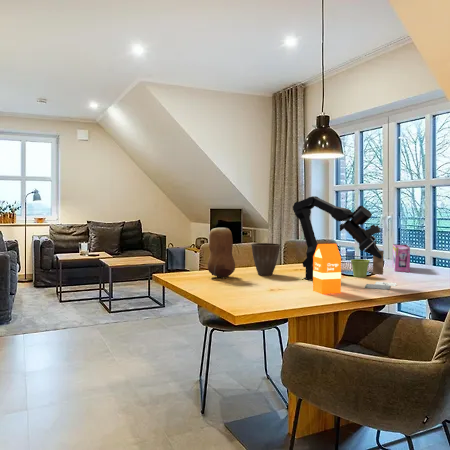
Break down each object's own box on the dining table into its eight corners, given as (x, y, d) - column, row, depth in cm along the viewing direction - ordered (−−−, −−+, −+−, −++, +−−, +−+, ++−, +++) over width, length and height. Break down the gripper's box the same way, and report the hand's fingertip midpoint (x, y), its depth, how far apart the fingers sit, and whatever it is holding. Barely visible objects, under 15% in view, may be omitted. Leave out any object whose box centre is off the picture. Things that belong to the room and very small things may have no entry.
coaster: (364, 288, 190) (364, 287, 190) (366, 285, 199) (366, 283, 199) (389, 290, 186) (389, 289, 186) (390, 286, 195) (390, 285, 195)
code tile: (374, 285, 198) (374, 284, 198) (376, 282, 207) (376, 281, 207) (395, 286, 195) (395, 286, 195) (396, 283, 203) (396, 283, 203)
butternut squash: (225, 274, 229) (225, 226, 228) (240, 278, 218) (240, 227, 217) (202, 276, 221) (202, 227, 221) (216, 280, 210) (216, 228, 209)
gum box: (410, 272, 240) (410, 247, 239) (394, 271, 242) (395, 247, 242) (406, 267, 263) (406, 244, 262) (392, 266, 265) (392, 244, 265)
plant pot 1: (272, 272, 239) (272, 242, 238) (284, 276, 225) (285, 244, 224) (247, 273, 234) (247, 243, 234) (257, 277, 220) (258, 245, 220)
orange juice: (341, 293, 180) (341, 244, 180) (321, 294, 178) (322, 244, 177) (331, 289, 188) (331, 242, 187) (312, 290, 185) (313, 243, 185)
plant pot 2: (370, 279, 217) (371, 261, 216) (350, 278, 218) (351, 261, 218) (368, 276, 226) (368, 259, 225) (349, 275, 228) (349, 258, 227)
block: (372, 274, 191) (373, 251, 191) (373, 272, 196) (374, 250, 195) (382, 274, 189) (383, 251, 189) (383, 273, 194) (383, 250, 194)
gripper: (367, 219, 184) (395, 246, 181) (371, 218, 202) (396, 243, 198) (348, 237, 188) (374, 264, 184) (353, 234, 205) (377, 259, 201)
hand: (381, 257), depth 192 cm, fingers closed on block, 5 cm apart
